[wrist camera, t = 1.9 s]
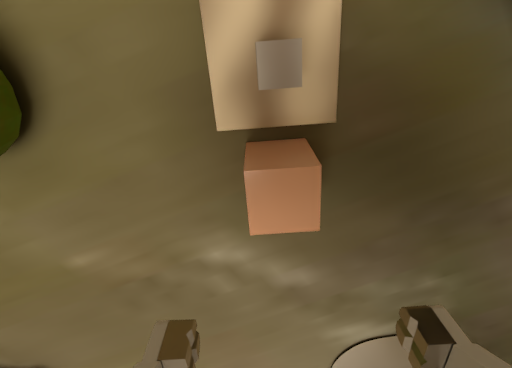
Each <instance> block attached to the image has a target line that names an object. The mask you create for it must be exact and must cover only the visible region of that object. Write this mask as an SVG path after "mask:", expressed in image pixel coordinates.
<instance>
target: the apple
mask: <svg viewBox="0 0 512 368" xmlns="http://www.w3.org/2000/svg"><path fill="white" fill-rule="evenodd" d="M21 116H22V113H21V110H20V108H19V105H18V102H17V99H16V96H15V93H14V91H13V88H12V86H11V84H10V83H9V81H8V80H7V78H6V77H5V75H4V74H3V72H2V71H1V69H0V156H1V155H2V154H3V153H5V152H6V151H7V150H8V149H9V147H10V146H11V145H12V144H13V143H14V142H15V140H16V139H17V138H18V137H19V130H20V123H21Z"/></svg>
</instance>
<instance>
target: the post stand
mask: <svg viewBox="0 0 512 368" xmlns="http://www.w3.org/2000/svg"><path fill="white" fill-rule="evenodd" d="M199 1H200V9H201V16H202V23H203V31H204V38H205V45H206V53H207V60H208V67H209V75H210V82H211V89H212V97H213V104H214V111H215V119H216V126H217V131H226V130H239V129H253V128H266V127H279V126H293V125H306V124H319V123H333V122H336V113H337V92H338V72H339V52H340V31H341V11H342V0H199Z"/></svg>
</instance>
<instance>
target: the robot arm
mask: <svg viewBox="0 0 512 368" xmlns="http://www.w3.org/2000/svg"><path fill="white" fill-rule="evenodd" d="M399 315H400V317H401V318H400V319H399V320H398V321H397V324H396V333H397V336H393V337H386V338H379V339H374V340H370V341H367V342H364V343H362V344H359V345H357V346H355V347H353V348H351V349H349V350H348V351H346V352H345V353H344V354H342V355H341V356H340V357H339V358H338V359H337V360H336V362H335V363H334V365H333V366H332V368H512V366H511V365H509V364H508V363H506V362H505V361H503V360H502V359H500V358H498V357H497V356H495V355H494V354H492V353H491V352H489V351H488V350H486V349H484V348H483V347H481V346H480V345H478V344H477V343H472V342H471V341H470V340H469V338H468V337H467V336H466V335H465V333H464V332H463V331H462V329H461V328H460V327H459V326H458V324H457V323H456V322H455V320H454V319H453V318H452V316H451V315H450V314H449V313H448V311H447V310H446V309H445V307H443V306H442V305H430V306H426V305H425V306H411V307H402V308H401V309H400V311H399ZM196 329H197V322H196V319H193V320H163V321H157V322H156V323H155V325H154V328H153V330H152V333H151V336H150V339H149V342H148V345H147V348H146V350H145V353H144V356H143V359H142V362H138V363H137V364H136V365H135V366H134V367H133V368H196V367H195V363H196V361H197V360H198V359H199V352H200V336H199V333H198V332H197V331H196Z"/></svg>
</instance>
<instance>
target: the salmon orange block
mask: <svg viewBox="0 0 512 368" xmlns="http://www.w3.org/2000/svg"><path fill="white" fill-rule="evenodd" d="M321 172H322V165H321V164H320V162H319V160H318V159H317V157H316V155H315V154H314V152H313V150H312V149H311V147H310V145H309V144H308V142H307V140H306V138H299V139H285V140H272V141H258V142H246V151H245V162H244V179H245V189H246V199H247V209H248V219H249V229H250V235H261V234H276V233H291V232H307V231H320V207H321Z"/></svg>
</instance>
